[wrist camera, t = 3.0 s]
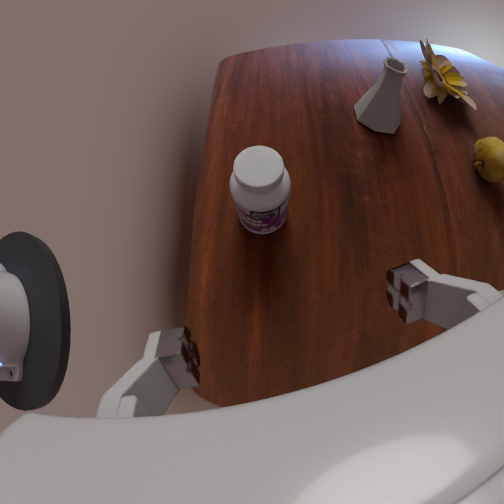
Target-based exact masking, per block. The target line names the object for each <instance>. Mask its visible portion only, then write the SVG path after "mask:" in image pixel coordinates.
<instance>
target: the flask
mask: <svg viewBox="0 0 504 504" xmlns="http://www.w3.org/2000/svg"><path fill="white" fill-rule="evenodd" d="M384 65H385V67H384V70H383V72H382V74H381V76H380V77H379V79H378V81H377V82H376V83H375V84H374V85H373V86H372V87H371V88H370V89H369V90H368V91H367V92H366V93H365V94H364V95H363V96H362V98H361V99H360V100H359V101H358V102H357V103H356V104H355V105H354V109H355V113H356V117H357V120H358V121H359V122H361V123H363V124H364V125H366V126H367V127H369V128H371V129H372V130H374V131H376V132H384V133H391V134H394V133H395V131H396V130H397V128H398V127H399V125H400V124H401V112H400V90H401V84H402V79H403V77H404V76H405V75H406V74H407V72H408V68H407V66H406V64H404V63H403V62H401V61H399V60H397V59H394V58H390V57H387V58H386V59H385V60H384Z"/></svg>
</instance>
